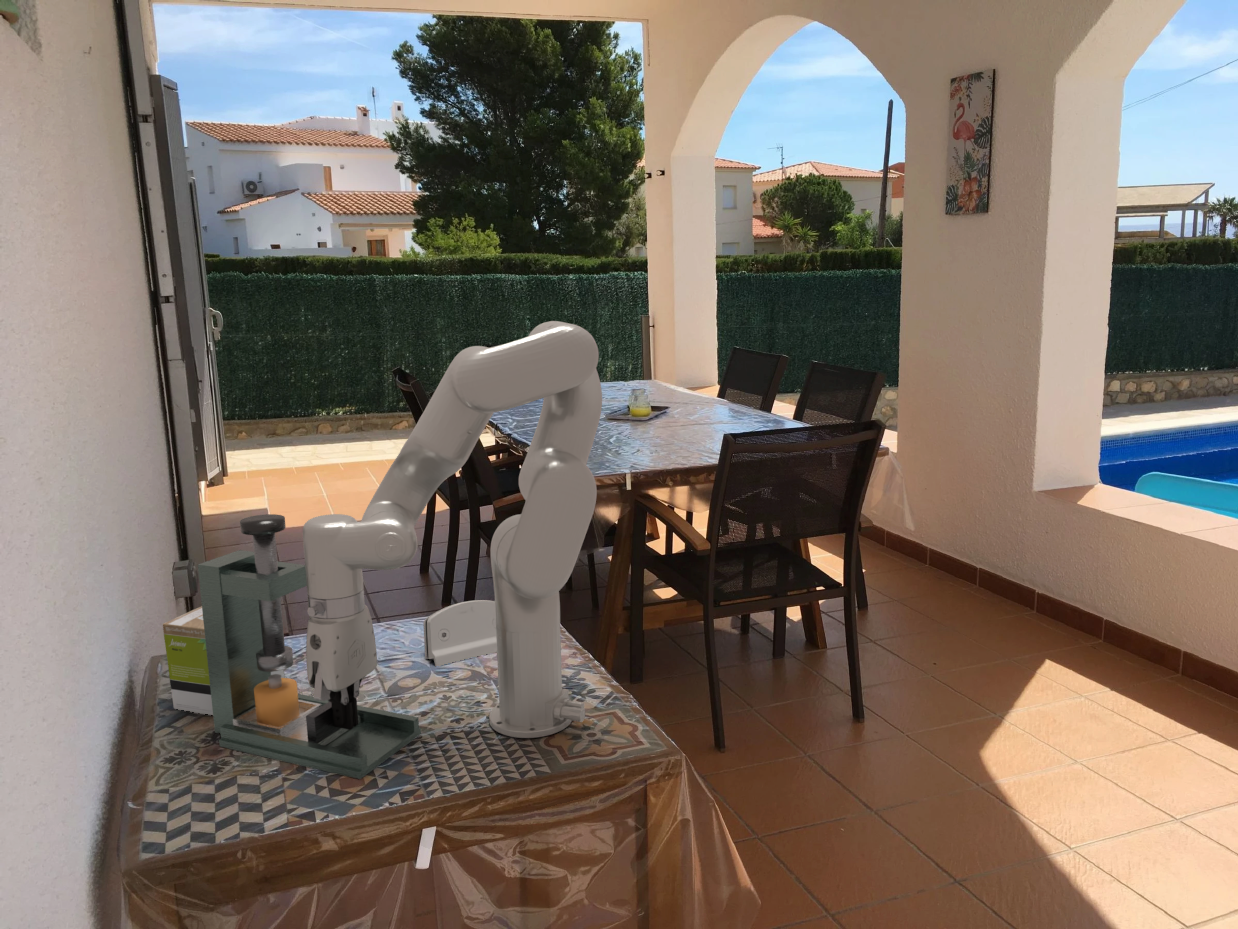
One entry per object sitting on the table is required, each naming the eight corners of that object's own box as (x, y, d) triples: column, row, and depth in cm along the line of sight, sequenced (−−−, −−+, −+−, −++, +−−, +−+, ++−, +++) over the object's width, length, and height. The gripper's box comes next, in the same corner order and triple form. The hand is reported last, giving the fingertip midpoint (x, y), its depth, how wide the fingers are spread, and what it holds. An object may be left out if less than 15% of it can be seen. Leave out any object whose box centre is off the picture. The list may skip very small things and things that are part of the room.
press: (421, 734, 140) (411, 564, 135) (360, 779, 128) (346, 594, 123) (268, 702, 152) (254, 545, 147) (198, 741, 139) (180, 570, 134)
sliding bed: (360, 722, 142) (358, 690, 141) (314, 752, 133) (311, 719, 132) (280, 705, 148) (277, 675, 147) (230, 733, 139) (227, 701, 138)
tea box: (237, 673, 163) (229, 591, 161) (286, 680, 160) (279, 596, 157) (170, 710, 149) (160, 621, 147) (222, 719, 146) (212, 628, 143)
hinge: (434, 667, 165) (424, 610, 166) (425, 667, 169) (415, 611, 170) (521, 646, 173) (510, 592, 174) (510, 647, 177) (500, 594, 178)
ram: (305, 660, 141) (293, 516, 137) (276, 675, 136) (263, 526, 132) (274, 654, 144) (261, 512, 140) (244, 669, 138) (230, 522, 134)
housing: (307, 711, 143) (304, 671, 142) (282, 729, 138) (278, 687, 137) (274, 706, 145) (271, 666, 144) (247, 724, 140) (244, 682, 138)
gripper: (322, 624, 125) (332, 754, 128) (391, 590, 138) (398, 708, 142) (277, 617, 128) (288, 744, 131) (349, 584, 141) (357, 700, 145)
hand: (345, 725), depth 136 cm, fingers closed
